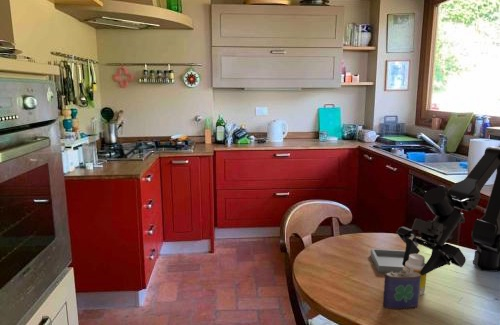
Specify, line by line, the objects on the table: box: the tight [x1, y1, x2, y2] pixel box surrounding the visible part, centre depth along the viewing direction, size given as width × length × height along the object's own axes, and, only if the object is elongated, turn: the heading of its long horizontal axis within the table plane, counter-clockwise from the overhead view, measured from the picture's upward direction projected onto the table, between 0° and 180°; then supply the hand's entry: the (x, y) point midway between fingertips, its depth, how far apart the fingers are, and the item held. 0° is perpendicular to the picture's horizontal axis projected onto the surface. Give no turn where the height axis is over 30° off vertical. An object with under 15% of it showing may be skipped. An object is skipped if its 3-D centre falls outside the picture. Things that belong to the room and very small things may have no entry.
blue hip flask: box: [382, 267, 421, 311], centre depth 98 cm, size 9×3×11 cm, turn 95°
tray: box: [370, 248, 406, 275], centre depth 122 cm, size 13×13×2 cm
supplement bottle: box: [405, 253, 427, 296], centre depth 106 cm, size 6×6×10 cm
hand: (412, 269), depth 105 cm, fingers closed on supplement bottle, 5 cm apart
